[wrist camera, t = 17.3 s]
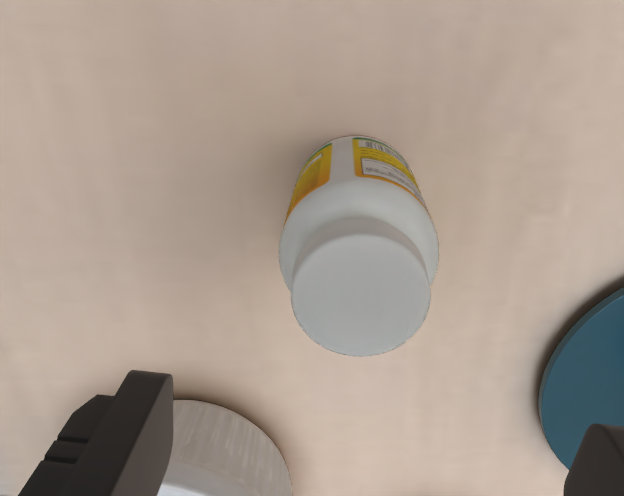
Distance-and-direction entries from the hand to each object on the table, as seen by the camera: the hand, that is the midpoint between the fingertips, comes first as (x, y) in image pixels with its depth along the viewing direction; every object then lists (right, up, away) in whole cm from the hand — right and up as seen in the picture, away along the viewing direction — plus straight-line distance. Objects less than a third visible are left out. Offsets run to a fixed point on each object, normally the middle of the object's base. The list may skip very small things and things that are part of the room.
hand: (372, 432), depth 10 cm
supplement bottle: (+1, +6, +14) cm, 15 cm away
